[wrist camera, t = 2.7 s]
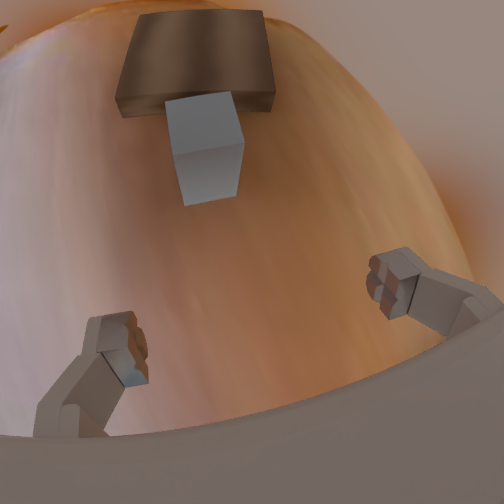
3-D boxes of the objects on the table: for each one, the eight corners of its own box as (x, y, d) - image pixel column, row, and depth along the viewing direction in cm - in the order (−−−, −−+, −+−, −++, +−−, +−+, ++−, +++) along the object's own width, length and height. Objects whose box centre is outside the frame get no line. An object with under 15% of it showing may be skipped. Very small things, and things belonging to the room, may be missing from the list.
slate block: (184, 206, 24) (172, 155, 16) (177, 161, 25) (165, 101, 17) (236, 196, 25) (245, 142, 17) (225, 152, 26) (230, 91, 18)
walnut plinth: (122, 117, 25) (114, 98, 23) (142, 32, 28) (139, 14, 26) (270, 111, 27) (275, 91, 24) (258, 28, 30) (262, 10, 27)
